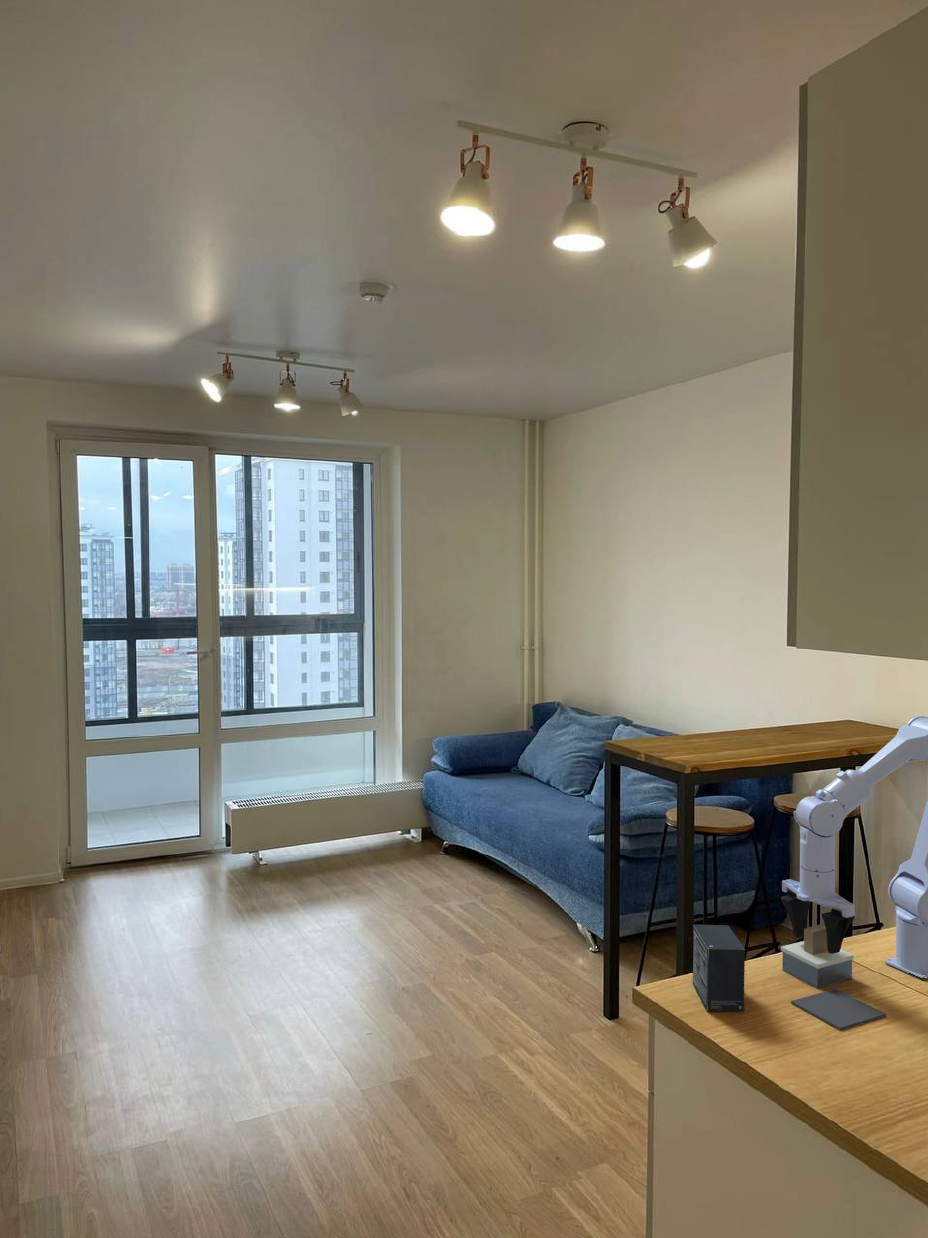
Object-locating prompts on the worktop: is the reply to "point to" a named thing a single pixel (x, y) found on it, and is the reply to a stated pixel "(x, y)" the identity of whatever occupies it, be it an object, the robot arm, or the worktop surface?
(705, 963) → the small box
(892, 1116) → the worktop surface
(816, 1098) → the worktop surface
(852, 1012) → the mat
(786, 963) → the tin
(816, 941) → the lid
